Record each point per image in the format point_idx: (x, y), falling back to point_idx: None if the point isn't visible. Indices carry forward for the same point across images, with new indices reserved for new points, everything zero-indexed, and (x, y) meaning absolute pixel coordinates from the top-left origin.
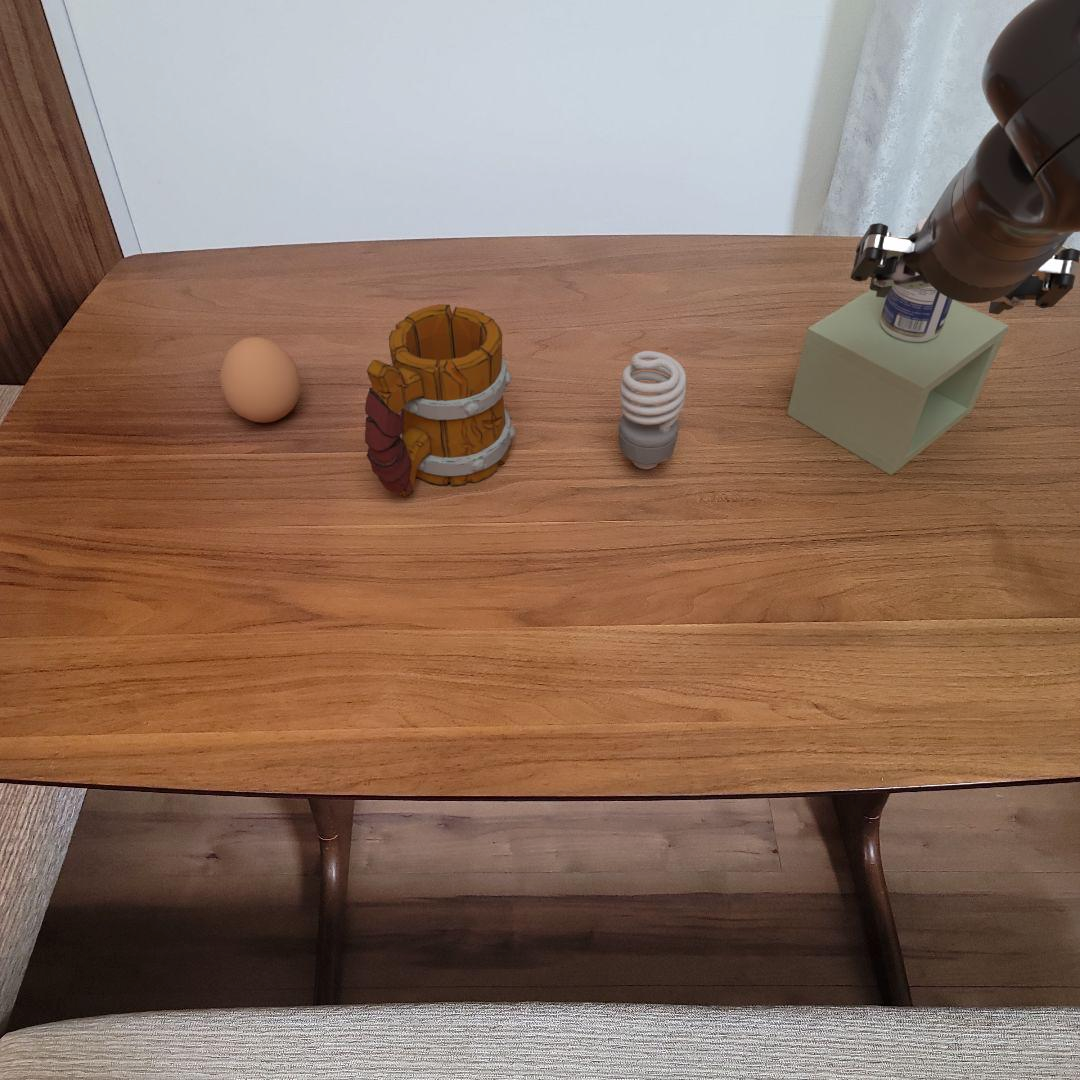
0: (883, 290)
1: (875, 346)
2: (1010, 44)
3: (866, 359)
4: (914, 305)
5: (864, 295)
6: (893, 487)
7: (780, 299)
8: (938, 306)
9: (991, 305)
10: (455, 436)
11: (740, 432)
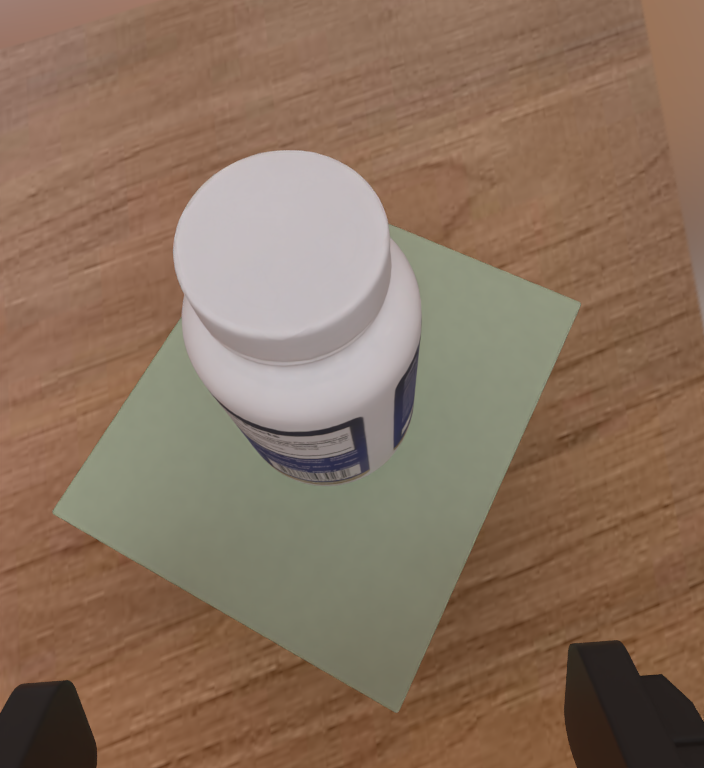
0: None
1: (243, 539)
2: None
3: (223, 612)
4: (299, 461)
5: None
6: (403, 721)
7: (119, 178)
8: (376, 438)
9: (576, 735)
10: None
11: (65, 647)
